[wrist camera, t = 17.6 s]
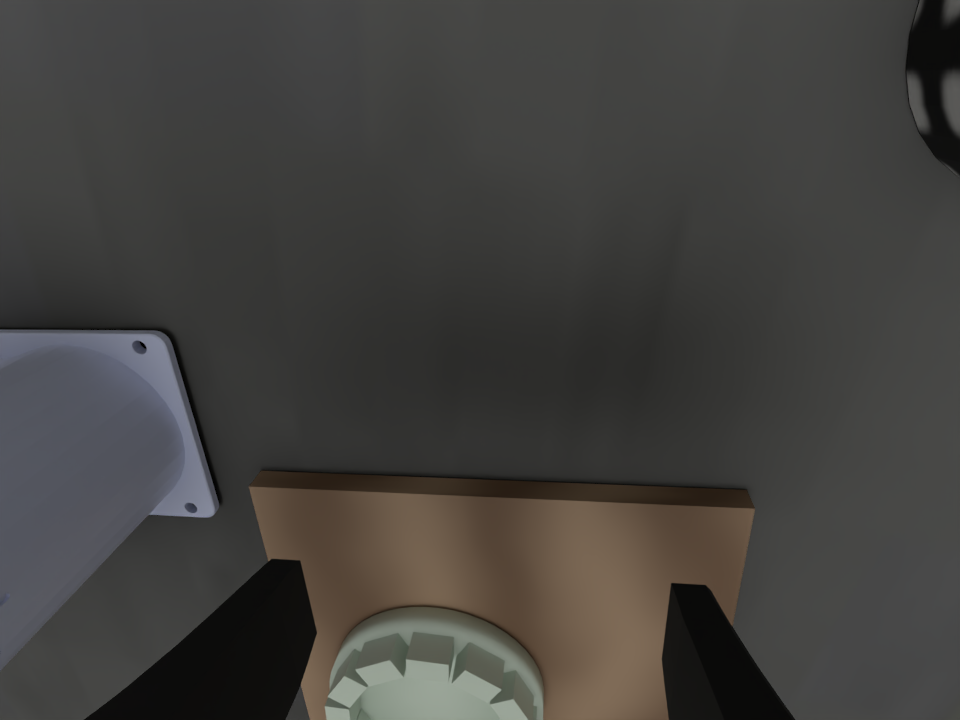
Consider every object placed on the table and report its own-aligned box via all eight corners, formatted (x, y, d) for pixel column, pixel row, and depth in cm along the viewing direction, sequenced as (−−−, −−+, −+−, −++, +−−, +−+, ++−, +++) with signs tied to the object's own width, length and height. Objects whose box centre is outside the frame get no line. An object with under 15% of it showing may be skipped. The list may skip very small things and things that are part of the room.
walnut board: (337, 778, 31) (331, 799, 31) (261, 470, 23) (248, 486, 22) (687, 817, 29) (690, 841, 28) (746, 490, 20) (755, 508, 20)
